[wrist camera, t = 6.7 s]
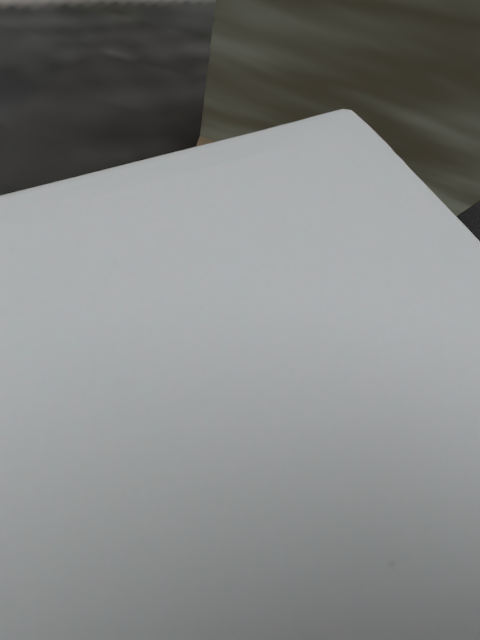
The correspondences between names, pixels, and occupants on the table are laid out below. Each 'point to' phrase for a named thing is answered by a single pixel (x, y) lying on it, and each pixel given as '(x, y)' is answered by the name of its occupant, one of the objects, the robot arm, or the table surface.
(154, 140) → the table surface
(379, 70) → the awning stand
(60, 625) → the supplement box
